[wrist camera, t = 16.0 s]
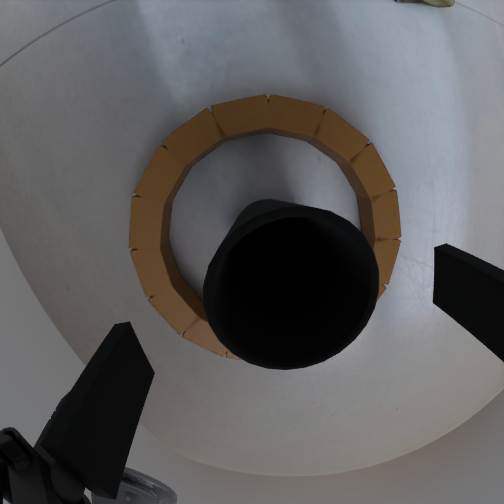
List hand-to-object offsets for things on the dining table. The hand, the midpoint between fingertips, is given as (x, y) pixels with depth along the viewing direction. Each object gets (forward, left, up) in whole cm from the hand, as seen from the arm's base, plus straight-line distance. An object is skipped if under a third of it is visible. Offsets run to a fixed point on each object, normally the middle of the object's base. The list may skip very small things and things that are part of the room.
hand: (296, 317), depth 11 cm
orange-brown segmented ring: (0, 0, -13) cm, 13 cm away
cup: (0, 0, -13) cm, 13 cm away
